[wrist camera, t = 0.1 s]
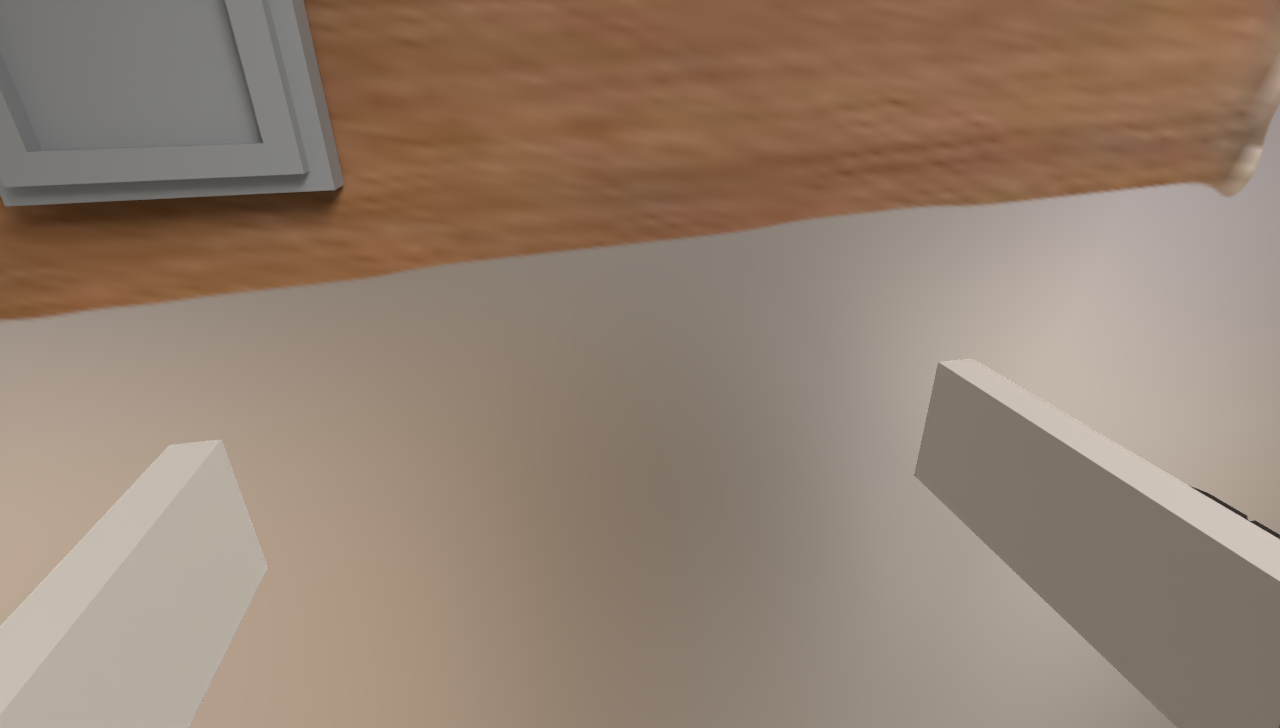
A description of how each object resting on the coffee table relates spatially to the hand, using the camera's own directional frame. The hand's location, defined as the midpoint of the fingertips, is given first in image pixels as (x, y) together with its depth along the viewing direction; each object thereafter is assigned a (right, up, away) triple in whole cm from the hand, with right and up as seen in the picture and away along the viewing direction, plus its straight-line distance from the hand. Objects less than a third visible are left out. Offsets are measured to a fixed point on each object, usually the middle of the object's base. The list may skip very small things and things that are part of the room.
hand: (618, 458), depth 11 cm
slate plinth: (-24, +18, +18) cm, 34 cm away
